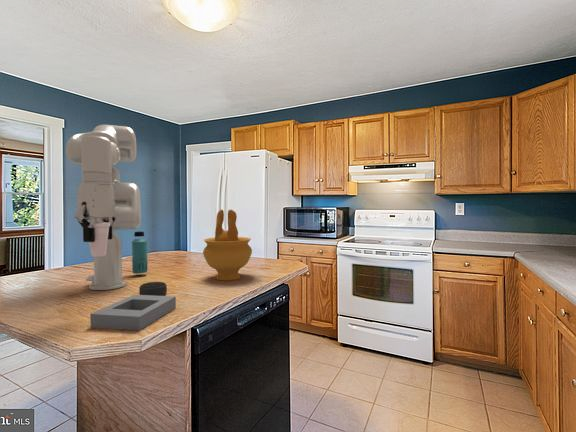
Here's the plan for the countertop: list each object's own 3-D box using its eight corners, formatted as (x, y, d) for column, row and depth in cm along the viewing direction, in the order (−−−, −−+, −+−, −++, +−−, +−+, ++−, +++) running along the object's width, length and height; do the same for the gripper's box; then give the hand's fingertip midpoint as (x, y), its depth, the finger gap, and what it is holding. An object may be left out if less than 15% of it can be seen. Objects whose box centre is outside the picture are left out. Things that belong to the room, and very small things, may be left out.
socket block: (90, 327, 82) (90, 313, 82) (134, 305, 100) (134, 294, 100) (139, 330, 80) (139, 316, 80) (175, 307, 98) (175, 296, 98)
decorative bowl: (258, 273, 147) (258, 209, 146) (241, 284, 126) (241, 209, 125) (216, 271, 151) (216, 209, 150) (194, 281, 131) (193, 209, 130)
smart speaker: (164, 290, 118) (164, 280, 118) (168, 296, 110) (168, 285, 110) (138, 294, 113) (137, 283, 113) (141, 300, 106) (140, 288, 106)
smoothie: (93, 253, 96) (92, 208, 96) (115, 253, 97) (114, 208, 96) (81, 257, 90) (79, 208, 89) (104, 257, 90) (103, 208, 90)
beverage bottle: (137, 277, 139) (136, 232, 138) (128, 275, 142) (128, 231, 141) (150, 274, 144) (150, 231, 143) (142, 273, 148) (141, 230, 147)
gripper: (107, 181, 102) (108, 237, 102) (60, 177, 85) (61, 243, 85) (128, 181, 100) (129, 237, 101) (84, 176, 83) (86, 244, 84)
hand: (98, 239), depth 93 cm, fingers closed on smoothie, 6 cm apart
